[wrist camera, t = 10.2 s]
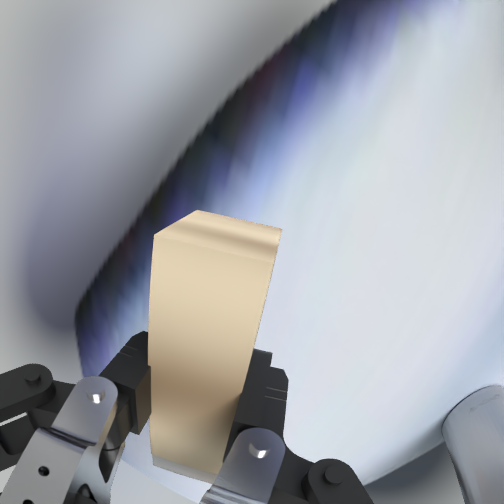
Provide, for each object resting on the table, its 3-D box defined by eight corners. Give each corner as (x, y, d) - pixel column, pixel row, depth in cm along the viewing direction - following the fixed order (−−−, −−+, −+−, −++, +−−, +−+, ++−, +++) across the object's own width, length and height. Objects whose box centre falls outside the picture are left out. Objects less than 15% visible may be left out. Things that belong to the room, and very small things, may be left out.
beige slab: (166, 203, 10) (115, 225, 7) (316, 236, 10) (323, 274, 7) (156, 458, 15) (137, 497, 12) (237, 481, 15) (226, 524, 12)
